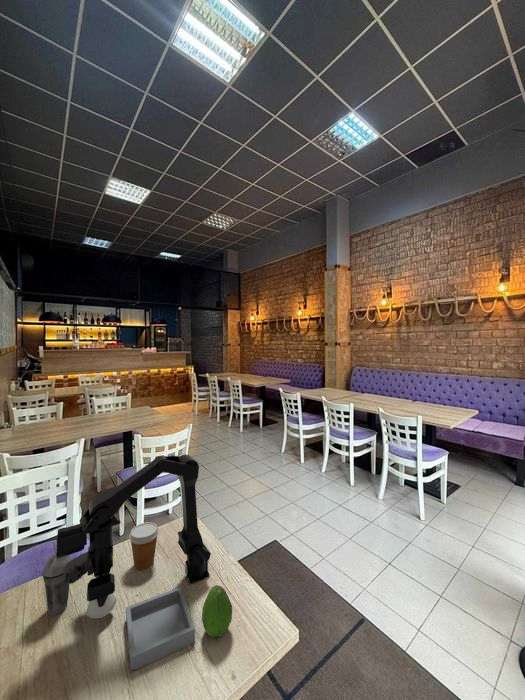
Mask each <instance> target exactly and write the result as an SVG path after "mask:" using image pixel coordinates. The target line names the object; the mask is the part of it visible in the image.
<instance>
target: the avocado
mask: <svg viewBox="0 0 525 700" xmlns="http://www.w3.org/2000/svg"><path fill="white" fill-rule="evenodd" d="M232 618H233V606H232V602H231V600H230V597H229V596H228V593H227V591H226V589H224V588H223V586H221V585H214V586H212V587H211V589H210V590H209V591H208V594H207V596H206V598H205V600H204V603H203V605H202V611H201V621H202V626H203V629H204V631H205V632H206V634H207V635H209V636H210V637H211V638H218V637H219V638H220V637H221V636H222V635H224V634H225V633H226V632H227V630H228V628H229V626H230V624H231V622H232V620H233V619H232Z"/></svg>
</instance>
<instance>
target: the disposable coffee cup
mask: <svg viewBox="0 0 525 700" xmlns="http://www.w3.org/2000/svg"><path fill="white" fill-rule="evenodd" d="M159 532H160V529H159V528H158V525H157V523H154V522H151V521H149V522H143V523H140V524H137V525H135V526H134V527H133V528H132V529H131V531H130V534H129V540H130V544H131V551H132V558H133V565H134V566H133V567H134V569H135V570H136V571H139V572H141V571H146V570H149V569H150V568H152V567H153V565H154V563H155V555H156V546H157V542H158V541H157V539H158V534H159Z"/></svg>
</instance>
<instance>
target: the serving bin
mask: <svg viewBox="0 0 525 700" xmlns="http://www.w3.org/2000/svg"><path fill="white" fill-rule="evenodd" d="M125 621H126V624H125V625H126V632H127V633H126V635H127V636H126V637H127V646H128V647H127V648H128V655H129V667H130V670H129V671H130V673H133V672H135V671H137V670H139V669H142V668H144V667H146V666H148V665H151V664H152V663H154V662H156V661H158V660H160V659H162V658H165V657H166V656H167V657H168V656H169V655H171V654H173V653H175V652H177V651H179V650H182V649H184V648H185V647H188V646H190V645H192V644H194V643H195V641H196V633H195V632H196V628H195V625H194V622H193V618H192V616H191V612H190V609H189V606H188V603H187V600H186V597H185V595H184V591H183V588H182V586H179V587H177V588H176V587H175V588H174V589H170V590H168V591H165V592H163V593H161V594H158V595H156V596H155V595H154V596H152V597H149V598H146V599H144V600H141V601H139V602H136V603H133V604H131V605H128V606H126V607H125Z"/></svg>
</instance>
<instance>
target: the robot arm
mask: <svg viewBox="0 0 525 700" xmlns="http://www.w3.org/2000/svg"><path fill="white" fill-rule="evenodd" d="M199 471H200V466H199V463H198V462H197V460H196V459H194V458H193V457H192V456H191V455H190V454H186V453H185V454H181V455H166V456H165V455H158V456H156V457H155V458H154V459H153V460H152V461H150V462H149V463H148V464H146V465H145V466H144V467H142V468H141V469H139V470H138V471H137V472H134V474H132V475H130V477H128V478H127V479H125V480H124V481H123V482H121V483H120V484H118V485H116V486H114V487H110V488H107V489H105V490H103V491H101V492H99V493H98V494H96V495H94V496H93V497H92V498H91V499H90V501H89V503H88V508H87V509H86V510H85V512H84V513H83V515H82V516H81V518H80V523H78V524H74V525H71V526H65V527H61V528H58V529H57V538H56V553H57V559H59V558H62V557H65V556H68V555H70V556H71V555H74V554H77V553H79V552H82V551H83V550H85V546H87V545H88V542H89V546H88V547H87V548H88V549H87V550H88V551H86V552H84V553H82V554H79V555H77V556H76V557H74V558H73V559H72V560H71V561H69V562H68V563H67V564H66V565H65V570H64V575H65V578H66V580H65V582H68V583H69V584H70V585H73V584H74V583H76V582H77V581H79V580H81V579H82V577H83V576H84V575H86V574H87V577H88V576H91V575H93V577H94V578H91V579H90V580H89V582H88V583H87V585H86V586H87V588H86V601H87V602H88V603H89V602H90V601H93V600H96V599H97V603H98V606H99V607H102V606H104V604H105V601H106V599H107V597H108V595H110V594H114V593H115V592H116V582H115V577H116V576H115V574H113V573H111V571H112V568H113V567H114V558H113V557H114V556H113V555H114V545H113V544H114V539H113V538H114V535H113V534H114V533H113V532H114V526H118V525H120V524H121V519H120V516H119V515H117V513H118V512H119V510H120V509H121V508H122V506H123V505H124V504H125V502H127V500H128V499H130V498H131V497H132V496H134V495H135V494H136V493H137V492H139V491H140V490H141V489H144V487H145V486H147V485H149V483H151V482H152V481H153V480H155V479H156V478H157V477H158V476H160V475H161V474H171V475H175V476H177V478H178V480H179V482H180V483H179V484H180V491H181V504H182V505H181V507H182V509H181V510H182V524H183V526H182V529H181V530H180V531H178V532H177V535H178V536H177V537H178V541H177V543H178V545H179V548H180V549H181V550H182V552H183V554H184V555H186V560H185V562H184V563H185V564H184V565H185V566H184V568H185V569H184V571H185V572H184V573H185V574H184V575H185V577H186V579H188V582H189V584H194V583H196V582H199V581H202V580H204V579H207V578H209V577H210V576H211V575H210V573H209V561H210V558H211V555H212V553H211V552H210V550H209V549H208V547H207V546H206V545H205V543H204V541H203V537H202V535H201V532H200V529H199V525H198V512H197V511H198V509H197V494H196V493H197V492H196V485H197V484H196V483H197V480H198V478H199V473H200V472H199ZM87 534H89V535H87ZM88 536H89V537H88ZM88 538H89V540H88ZM103 572H104V575H103ZM98 573H99V577H97V576H98ZM95 577H97V578H95Z"/></svg>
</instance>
